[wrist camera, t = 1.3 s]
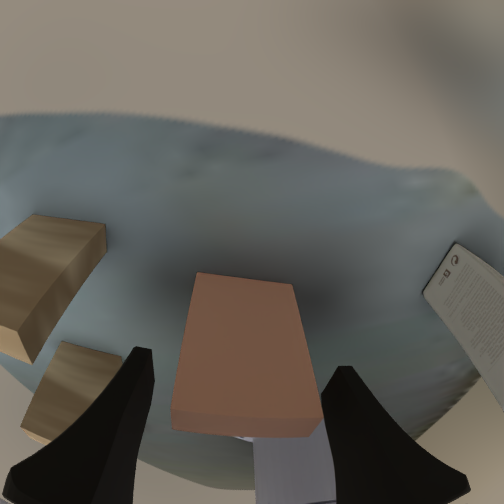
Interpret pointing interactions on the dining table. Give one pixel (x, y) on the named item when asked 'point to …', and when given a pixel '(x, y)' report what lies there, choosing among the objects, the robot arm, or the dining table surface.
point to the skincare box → (472, 312)
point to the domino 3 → (244, 362)
